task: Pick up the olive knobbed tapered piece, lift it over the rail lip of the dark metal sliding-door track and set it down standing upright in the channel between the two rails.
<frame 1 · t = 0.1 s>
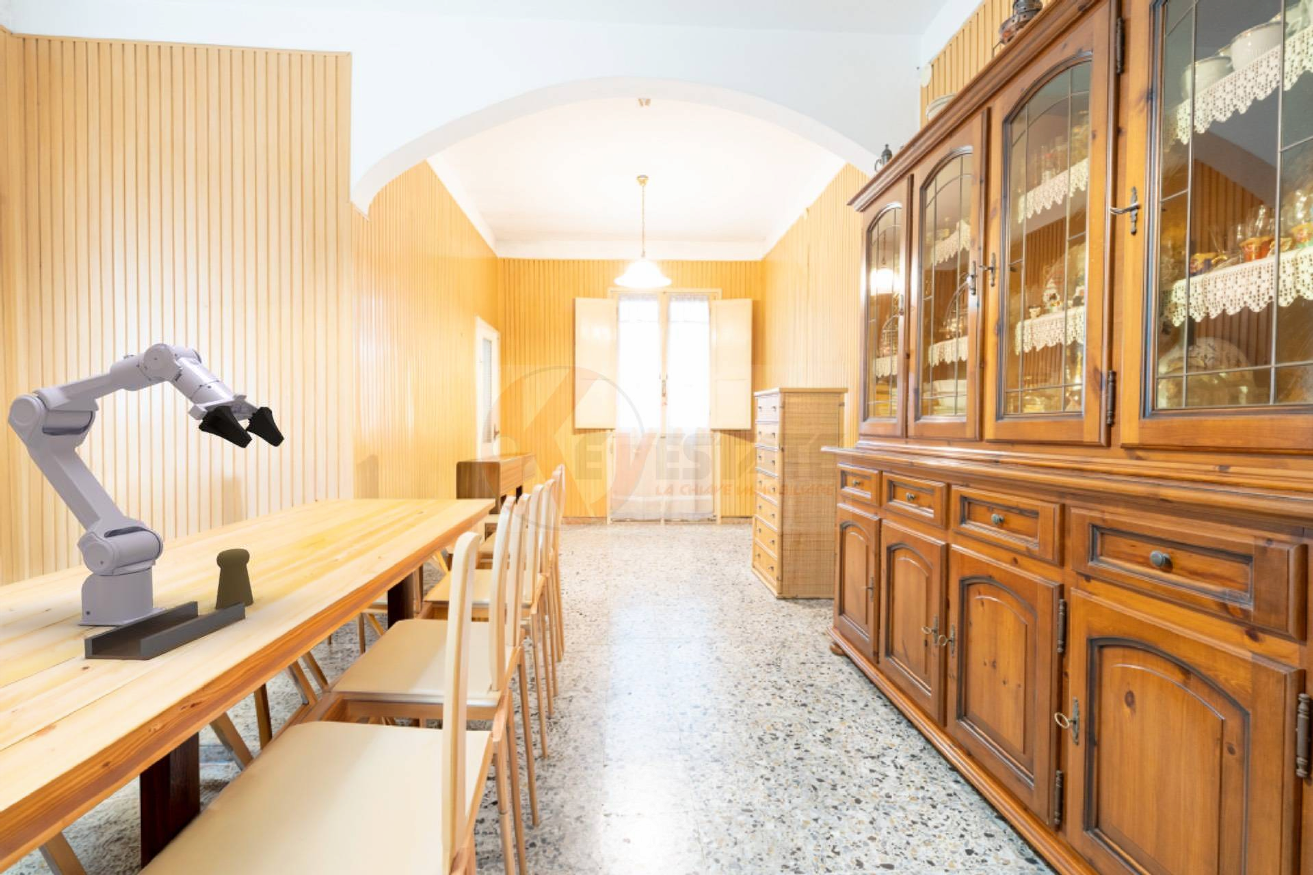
hand: (264, 443, 100), 32 cm above the table, tool tilted 50°, fingers open, 7 cm apart
door track: (172, 636, 93), on the table
olive knobbed tapered piece: (234, 606, 110), on the table
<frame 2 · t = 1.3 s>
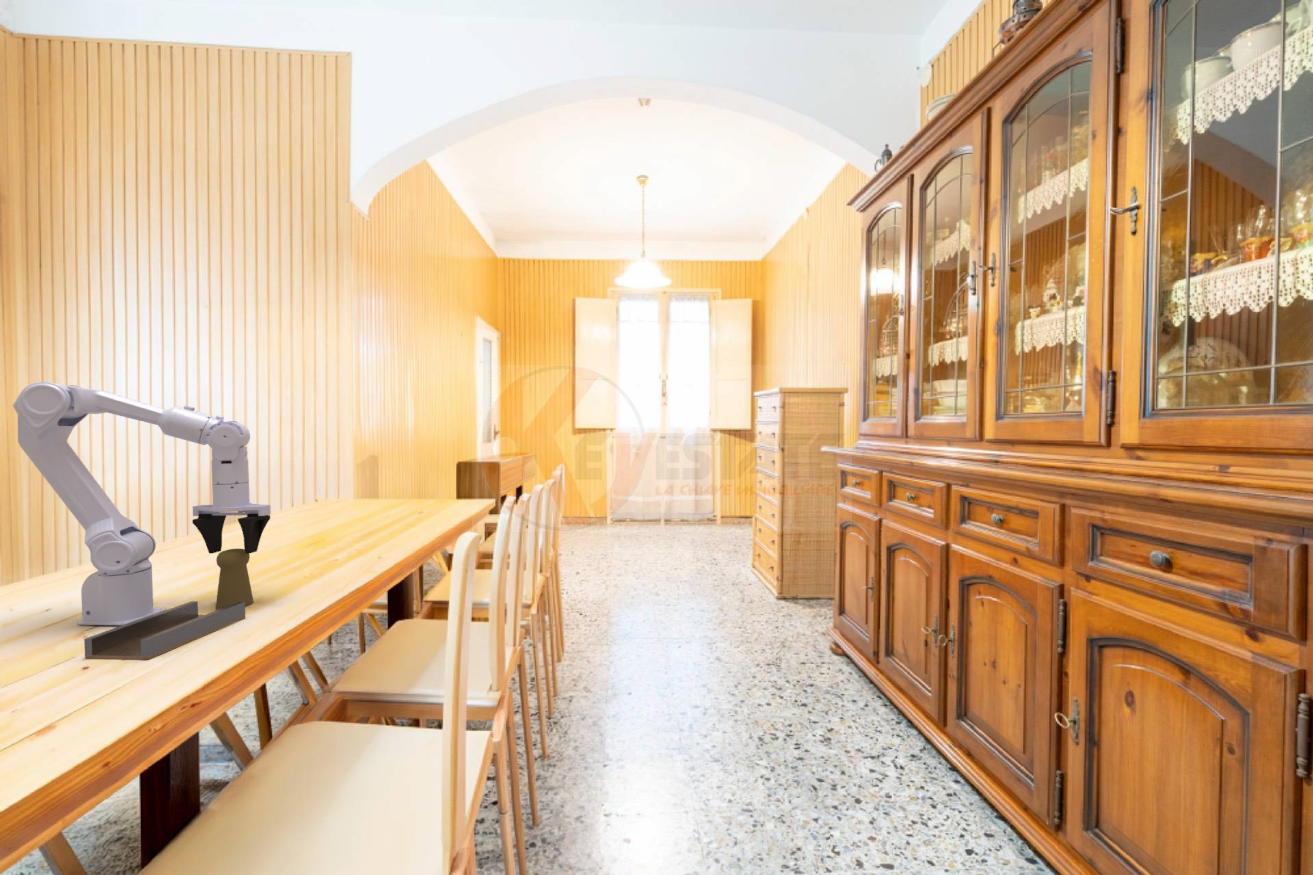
hand: (233, 552, 109), 10 cm above the table, tool pointing down, fingers open, 7 cm apart
nothing on the table moved.
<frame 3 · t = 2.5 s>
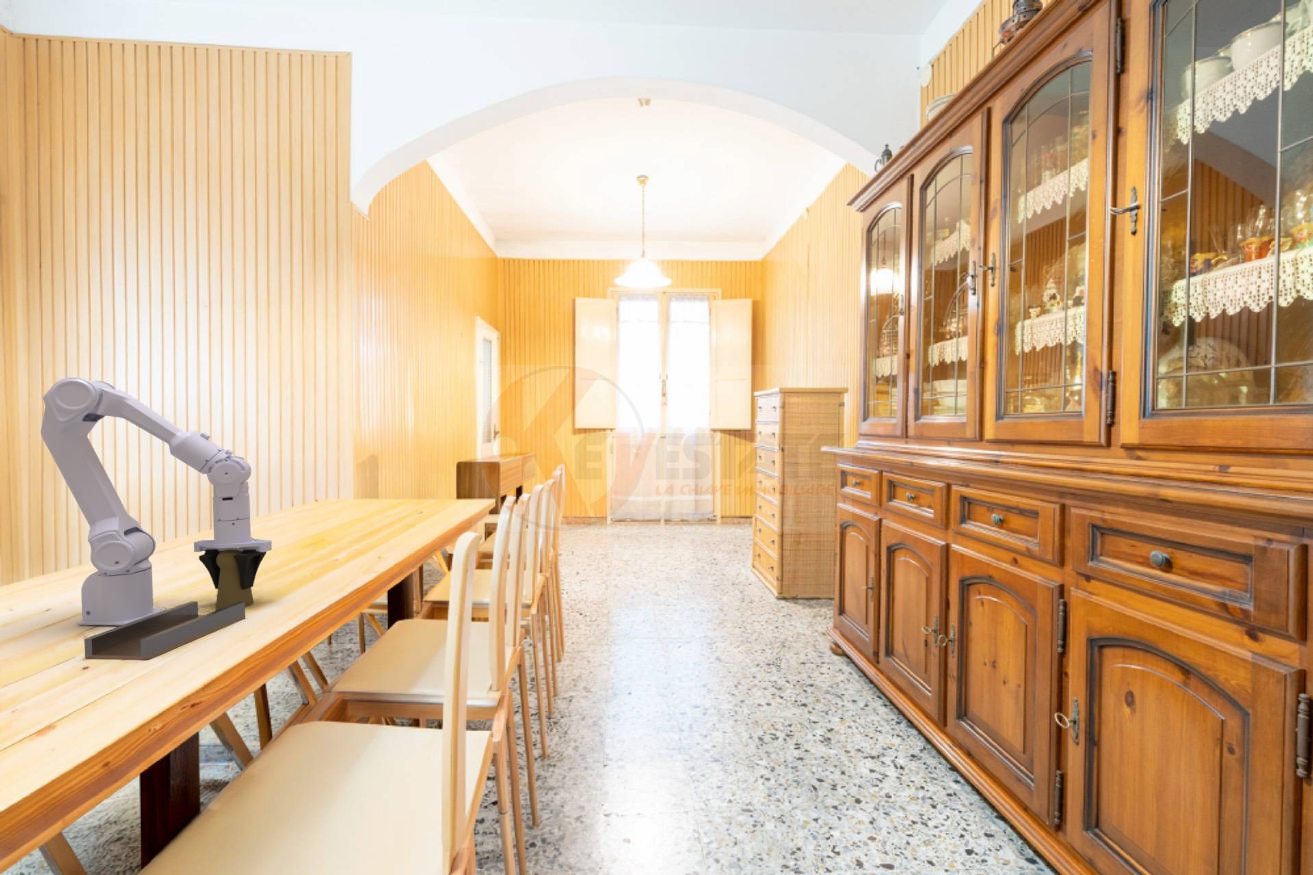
hand: (234, 587, 110), 3 cm above the table, tool pointing down, fingers closed on olive knobbed tapered piece, 5 cm apart
olive knobbed tapered piece: (234, 606, 110), on the table, touching gripper
when the fingers open (5 cm above the table, at t = 6.5 s): olive knobbed tapered piece stays where it is, resting on door track.
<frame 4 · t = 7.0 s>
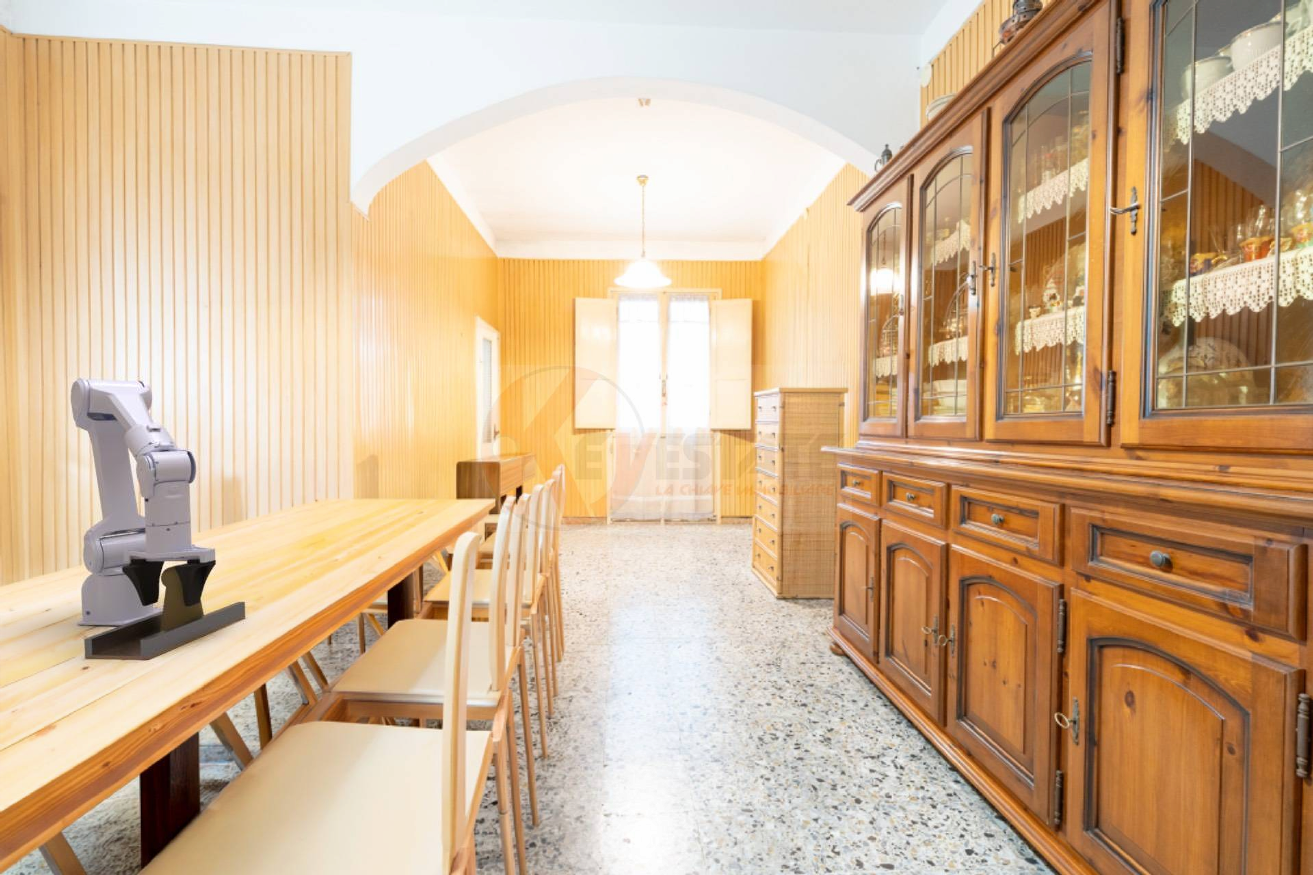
hand: (171, 604, 93), 5 cm above the table, tool pointing down, fingers open, 7 cm apart
olive knobbed tapered piece: (183, 630, 95), resting on door track
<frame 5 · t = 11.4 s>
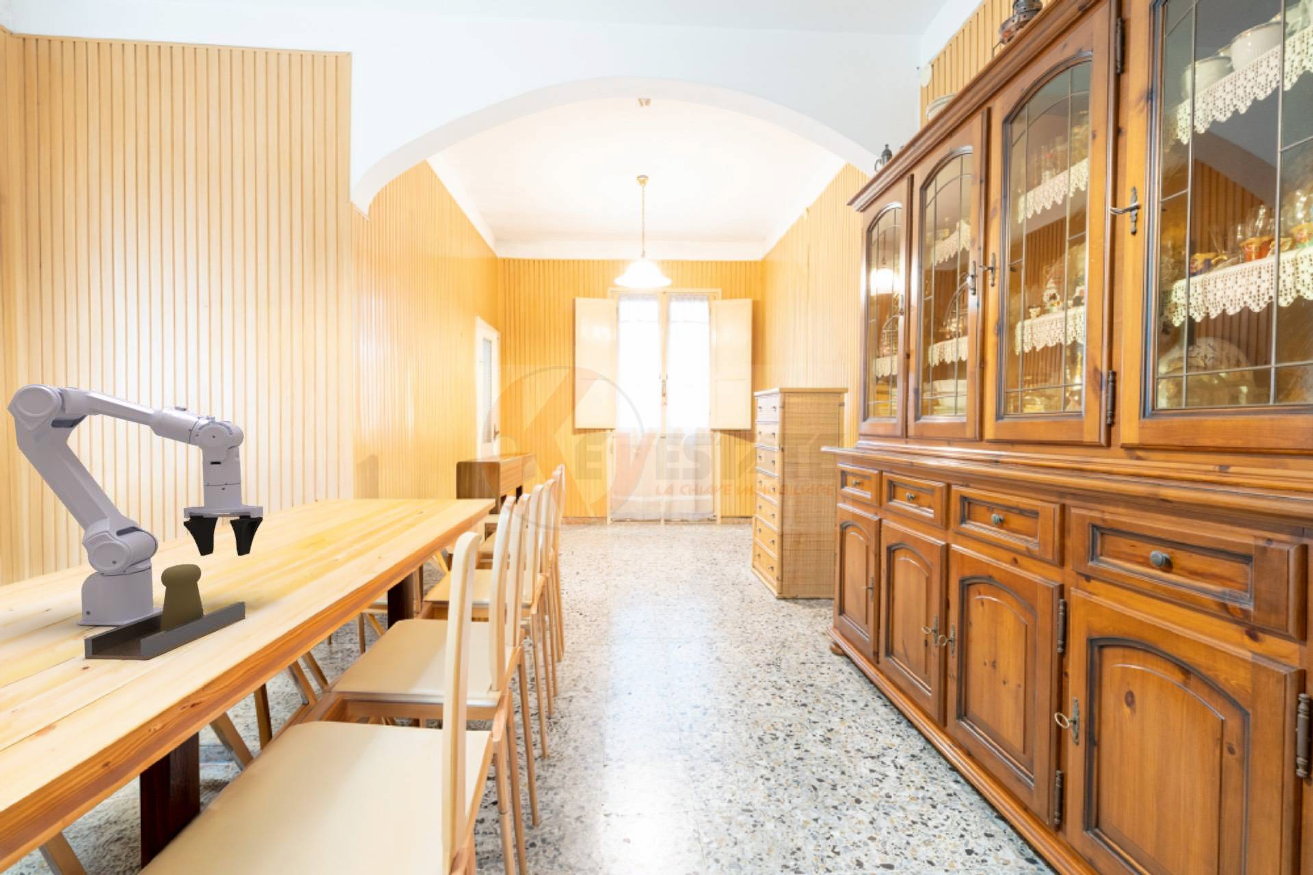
hand: (225, 554, 107), 10 cm above the table, tool pointing down, fingers open, 7 cm apart
nothing on the table moved.
at the end: olive knobbed tapered piece inside the target area on the door track (1.8 cm from its centre), point 0.3 cm above the door track's base; olive knobbed tapered piece tilted 0°; the gripper is holding nothing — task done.
